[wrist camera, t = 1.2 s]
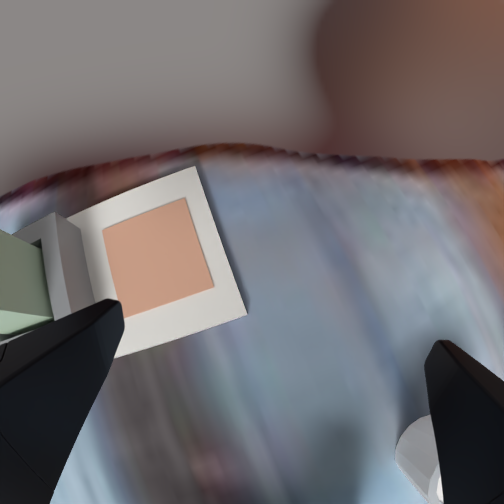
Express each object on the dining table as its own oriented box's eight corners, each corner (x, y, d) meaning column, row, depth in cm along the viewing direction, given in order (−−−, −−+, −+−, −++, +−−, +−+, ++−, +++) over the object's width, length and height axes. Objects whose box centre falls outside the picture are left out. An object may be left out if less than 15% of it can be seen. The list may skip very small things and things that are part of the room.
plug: (77, 320, 21) (-14, 307, 11) (33, 335, 20) (-56, 328, 11) (64, 259, 22) (-19, 219, 12) (22, 278, 21) (-61, 250, 12)
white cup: (392, 491, 18) (429, 528, 11) (381, 428, 20) (424, 458, 13) (457, 456, 19) (503, 478, 12) (450, 394, 20) (503, 406, 13)
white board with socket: (247, 314, 22) (246, 310, 17) (31, 380, 20) (-5, 385, 15) (197, 171, 25) (185, 137, 20) (8, 254, 23) (-26, 239, 18)
